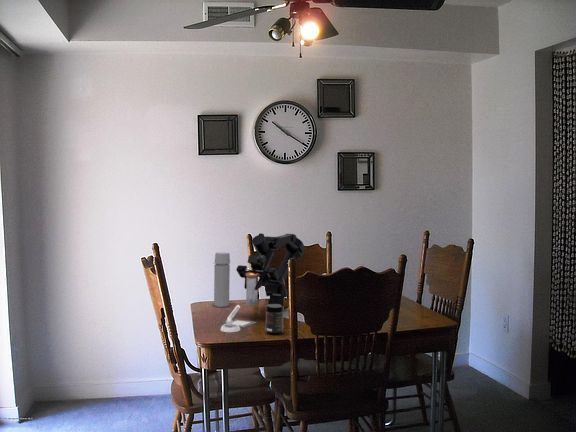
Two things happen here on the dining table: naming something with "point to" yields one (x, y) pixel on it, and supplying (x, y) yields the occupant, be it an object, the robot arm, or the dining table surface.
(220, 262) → the water bottle
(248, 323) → the pad
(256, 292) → the clear copper-topped jar
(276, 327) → the supplement container
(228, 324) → the hook
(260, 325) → the dining table surface
